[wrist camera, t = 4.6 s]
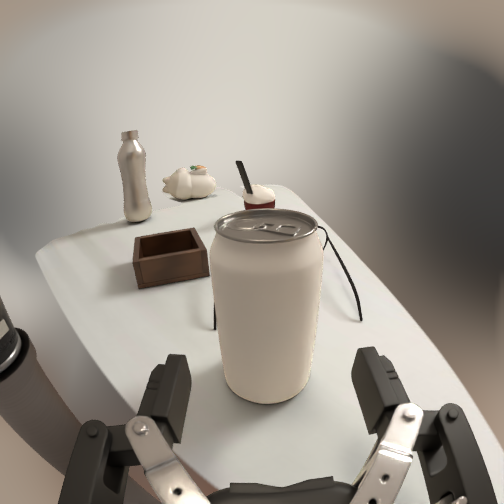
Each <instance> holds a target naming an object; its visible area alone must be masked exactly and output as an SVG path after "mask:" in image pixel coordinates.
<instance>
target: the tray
mask: <svg viewBox="0 0 504 504" xmlns="http://www.w3.org/2000/svg"><path fill="white" fill-rule="evenodd" d="M133 267H134V271H135V276H136V280H137V284H138V288H139V289H140V288H146V287H151V286H157V285H162V284H168V283H173V282H179V281H184V280H190V279H195V278H200V277H206V276H209V266H208V257H207V249H206V248H205V246H204V244H203V242H202V240H201V239H200V237H199V235H198V233H197V231H196V229H195V228H190V229H189V228H188V229H182V230H176V231H170V232H164V233H158V234H152V235H146V236H141V237H135V243H134V253H133Z"/></svg>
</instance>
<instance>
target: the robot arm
mask: <svg viewBox="0 0 504 504" xmlns="http://www.w3.org/2000/svg"><path fill="white" fill-rule="evenodd" d="M21 348H22V341H21V338H20V336H19V334H18V332H17V331H16V330H15V328H14V326H13V324H12V322H11V320H10V318H9V316H8V313H7V311H6V309H5V306H4V304H3V302H2V299H1V297H0V375H1V374H2V373H4V372H5V371H6V370H7V369H9V368H10V367H11V366H12V365H13V363H14V362H15V361H16V359H17V358H18V356H19V354H20V351H21ZM351 377H352V382H353V385H354V388H355V391H356V394H357V397H358V401H359V404H360V407H361V410H362V413H363V416H364V420H365V423H366V426H367V430H368V433H369V435H370V434H374V433H377V436H378V439H377V441H376V443H375V445H374V447H373V449H372V451H371V453H370V455H369V457H368V458H367V460H366V462H365V464H364V466H363V468H362V469H361V471H360V473H359V474H358V476H357V477H356V479H355V480H354V482H353V483H352V485H350V484H347V483H343V482H337V481H334V480H333V476H331V477H324V478H317V479H309V480H306V481H303V482H300V483H296V484H293V485H290V486H287V487H275V486H269V485H263V484H258V483H230V488H225V489H222V490H219V491H216V492H214V493H212V494H210V495H208V496H207V497H205V495H204V494H203V493H202V491H201V490H200V489H199V487H198V486H197V485H196V484H195V482H194V481H193V480H192V478H191V477H190V475H189V474H188V473H187V471H186V470H185V468H184V467H183V465H182V464H181V463H180V461H179V460H178V458H177V457H176V455H175V454H174V452H173V451H172V447H173V443H179V444H181V438H182V433H183V427H184V422H185V417H186V411H187V406H188V401H189V396H190V391H191V374H190V370H189V367H188V363H187V359H186V356H185V355H177V354H169V355H168V357H167V360H166V363H165V365H164V364H158V365H157V366H156V367H155V369H154V370H153V371H152V372H151V375H150V378H149V382H148V384H147V387H146V390H145V393H144V396H143V399H142V402H141V405H140V408H139V411H138V414H137V416H136V417H134V418H132V419H131V420H129V421H128V423H127V424H124V425H119V426H106V425H105V424H104V423H102V422H101V421H98V420H90V421H87V422H86V423H84V424H83V425H82V427H81V429H80V431H79V434H78V437H77V440H76V443H75V446H74V449H73V452H72V455H71V458H70V462H69V465H68V468H67V472H66V475H65V479H64V482H63V486H62V490H61V494H60V498H59V501H58V504H123V501H124V494H125V488H126V483H127V477H128V472H129V467H130V466H135V465H142V467H143V469H144V474H145V476H146V478H147V480H148V481H149V483H150V485H151V487H152V488H153V490H154V491H155V493H156V495H157V496H158V498H159V500H160V501H161V503H162V504H393V503H394V501H395V499H396V496H397V494H398V492H399V490H400V488H401V486H402V484H403V481H404V479H405V477H406V474H407V472H408V469H409V467H410V464H411V462H412V459H413V456H412V455H411V453H412V451H417V453H418V457H419V460H420V464H421V467H422V471H423V475H424V479H425V483H426V487H427V491H428V495H429V499H430V504H498V503H497V500H496V496H495V493H494V489H493V486H492V483H491V480H490V477H489V474H488V471H487V468H486V465H485V462H484V460H483V457H482V454H481V452H480V449H479V447H478V444H477V442H476V439H475V437H474V434H473V432H472V430H471V427H470V425H469V423H468V421H467V418H466V416H465V414H464V412H463V410H462V408H461V407H460V406H458V405H456V404H453V403H448V404H445V405H444V406H442V408H441V409H440V410H439V411H425V410H421V408H420V407H419V406H418V405H416V404H414V403H411V402H410V400H409V398H408V396H407V394H406V392H405V389H404V387H403V385H402V383H401V381H400V379H399V378H398V375H397V373H396V372H395V369H394V366H393V364H392V362H391V361H390V360H388V359H387V358H386V357H385V356H384V355H383V356H379V355H378V353H377V351H376V349H375V347H365V348H359V349H358V350H357V353H356V357H355V360H354V364H353V367H352V372H351Z"/></svg>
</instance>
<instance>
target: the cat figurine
mask: <svg viewBox="0 0 504 504" xmlns="http://www.w3.org/2000/svg"><path fill="white" fill-rule="evenodd" d="M190 168H191V170H192V169H195V170H193V171H191V172H189V171H188V170H187V169H186V168H180V169H178V170H176V172H175V173H173V174H172V175H171V176H170V177H166V178H164V179H163V182H164V183H165V184H166V186H165V187H164V188H163V192H165V193H169V194H171V195H172V196H173V197H175V198H178V199H182V200H186V199H189V198H203V197H206V196H208V195H210V194H211V193H212V192H213V191H214V190H215V188H216V181H215V180H214V178H213V177H211V176H210V175H208V174H207V169H206V167H204V166H199V165H198V166H191V167H190Z"/></svg>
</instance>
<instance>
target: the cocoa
mask: <svg viewBox="0 0 504 504" xmlns="http://www.w3.org/2000/svg"><path fill="white" fill-rule="evenodd" d="M236 165H237V167H238V169H239V173H240V175H241V178H242V181H243V183H244V186H245V189H244V190H243V196H242V197H243V199H244V206H245V210H251V209H266V208H271V209H274V207H275V195H274V191H273V190H271V189H269V188H265V187H264V186H262V185H257V184H254V185H250V183H249V180H248V177H247V174H246V171H245V168H244V166H243V163H242V161H236Z"/></svg>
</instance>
